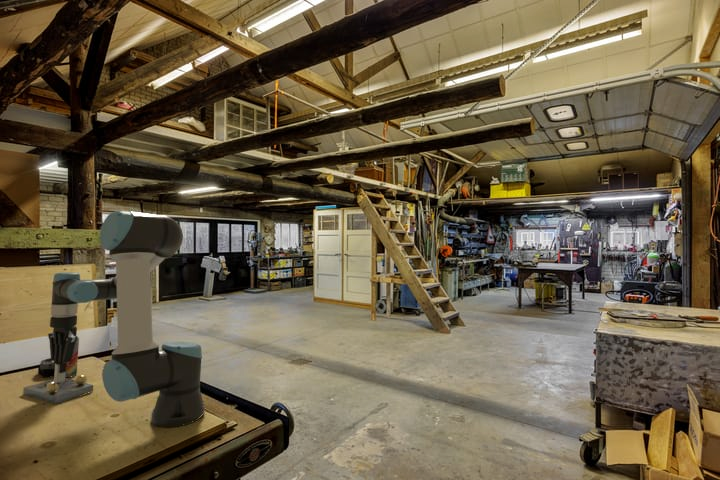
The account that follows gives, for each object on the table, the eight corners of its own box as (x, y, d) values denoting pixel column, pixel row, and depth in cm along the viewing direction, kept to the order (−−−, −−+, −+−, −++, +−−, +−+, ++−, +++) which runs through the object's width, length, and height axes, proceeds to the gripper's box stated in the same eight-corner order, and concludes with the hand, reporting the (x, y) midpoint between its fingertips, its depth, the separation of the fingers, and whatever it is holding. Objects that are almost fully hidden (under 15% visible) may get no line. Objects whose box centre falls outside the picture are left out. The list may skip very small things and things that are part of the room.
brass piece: (88, 383, 132) (88, 374, 132) (78, 386, 129) (79, 377, 129) (82, 382, 133) (83, 373, 133) (73, 384, 130) (73, 375, 130)
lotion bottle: (79, 375, 146) (82, 326, 147) (61, 379, 141) (65, 328, 142) (73, 372, 149) (76, 324, 150) (56, 376, 144) (59, 326, 145)
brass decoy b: (60, 391, 124) (61, 382, 124) (49, 395, 121) (50, 385, 121) (54, 390, 125) (55, 380, 125) (43, 393, 122) (44, 383, 122)
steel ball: (58, 390, 131) (59, 382, 131) (47, 393, 128) (49, 385, 128) (52, 387, 132) (54, 379, 132) (42, 390, 129) (43, 382, 129)
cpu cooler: (66, 354, 156) (76, 359, 150) (65, 367, 155) (75, 372, 150) (35, 360, 147) (44, 364, 142) (34, 374, 147) (43, 379, 141)
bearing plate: (92, 391, 131) (93, 384, 131) (54, 404, 120) (55, 396, 120) (61, 383, 137) (62, 377, 137) (23, 394, 126) (23, 387, 126)
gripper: (87, 315, 131) (82, 381, 130) (64, 312, 135) (60, 375, 134) (63, 318, 124) (58, 388, 123) (40, 315, 128) (36, 381, 127)
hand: (59, 381), depth 129 cm, fingers closed
